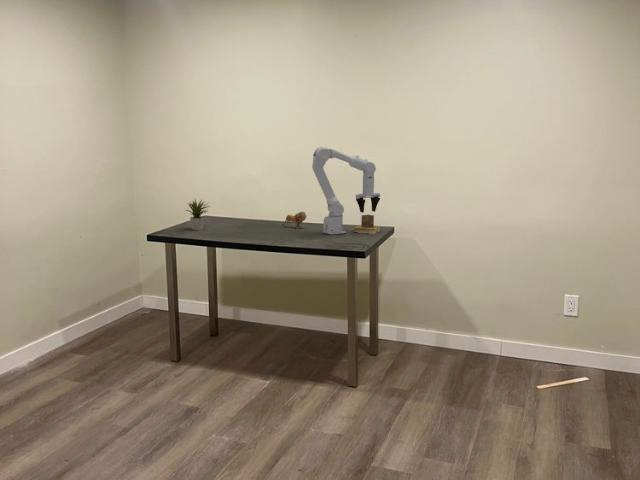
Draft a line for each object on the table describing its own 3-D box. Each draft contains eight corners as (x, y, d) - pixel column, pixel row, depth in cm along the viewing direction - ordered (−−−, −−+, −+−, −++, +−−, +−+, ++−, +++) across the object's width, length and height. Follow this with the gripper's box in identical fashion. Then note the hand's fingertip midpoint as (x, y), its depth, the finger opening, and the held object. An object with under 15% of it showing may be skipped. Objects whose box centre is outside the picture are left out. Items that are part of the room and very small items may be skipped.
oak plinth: (375, 234, 303) (375, 229, 303) (354, 232, 307) (354, 227, 306) (380, 230, 313) (380, 225, 313) (360, 229, 317) (360, 224, 316)
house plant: (204, 232, 305) (203, 200, 302) (179, 231, 308) (178, 199, 305) (215, 228, 319) (214, 197, 316) (190, 227, 321) (189, 196, 318)
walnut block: (366, 227, 306) (367, 216, 305) (361, 226, 310) (361, 215, 309) (373, 227, 309) (373, 215, 308) (368, 225, 312) (368, 214, 311)
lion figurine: (308, 227, 321) (308, 211, 320) (303, 229, 317) (303, 212, 315) (284, 225, 328) (284, 209, 326) (279, 227, 323) (279, 210, 321)
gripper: (361, 186, 298) (361, 213, 301) (384, 185, 306) (383, 211, 309) (353, 185, 304) (352, 212, 307) (375, 184, 312) (375, 210, 314)
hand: (367, 211), depth 308 cm, fingers open, 7 cm apart
